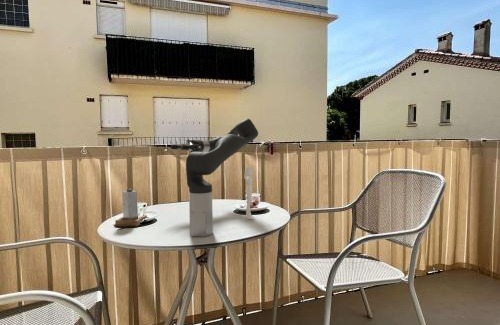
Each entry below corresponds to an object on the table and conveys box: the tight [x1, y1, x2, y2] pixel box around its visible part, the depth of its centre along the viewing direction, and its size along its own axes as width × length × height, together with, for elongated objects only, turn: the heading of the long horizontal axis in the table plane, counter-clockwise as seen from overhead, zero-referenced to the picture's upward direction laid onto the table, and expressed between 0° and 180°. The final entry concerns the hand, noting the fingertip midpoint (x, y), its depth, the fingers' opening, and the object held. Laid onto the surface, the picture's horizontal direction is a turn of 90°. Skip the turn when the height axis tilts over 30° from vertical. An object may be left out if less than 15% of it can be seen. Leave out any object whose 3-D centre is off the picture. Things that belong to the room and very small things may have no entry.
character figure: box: [243, 166, 255, 220], centre depth 148 cm, size 24×5×25 cm, turn 0°
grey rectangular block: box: [121, 188, 139, 220], centre depth 142 cm, size 4×4×15 cm
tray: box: [114, 214, 148, 227], centre depth 142 cm, size 10×10×2 cm
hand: (176, 147), depth 158 cm, fingers open, 8 cm apart
